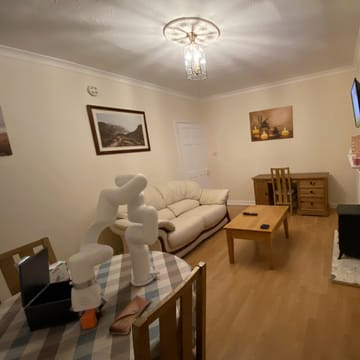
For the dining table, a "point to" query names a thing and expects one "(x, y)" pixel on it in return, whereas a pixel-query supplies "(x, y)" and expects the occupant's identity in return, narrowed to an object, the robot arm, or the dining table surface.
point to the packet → (89, 318)
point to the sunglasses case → (129, 316)
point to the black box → (51, 307)
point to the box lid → (33, 275)
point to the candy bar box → (58, 272)
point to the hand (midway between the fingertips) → (92, 319)
